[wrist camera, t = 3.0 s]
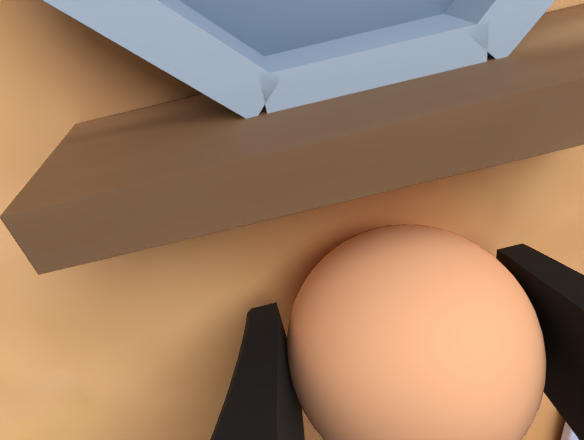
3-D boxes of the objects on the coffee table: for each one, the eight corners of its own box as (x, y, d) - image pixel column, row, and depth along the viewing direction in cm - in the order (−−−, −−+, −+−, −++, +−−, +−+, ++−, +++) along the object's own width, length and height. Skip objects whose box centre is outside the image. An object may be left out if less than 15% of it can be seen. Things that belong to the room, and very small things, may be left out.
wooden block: (607, 47, 9) (785, 96, 6) (97, 168, 9) (38, 274, 6) (617, -5, 9) (817, 22, 6) (75, 124, 9) (0, 216, 6)
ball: (465, 315, 13) (586, 501, 9) (296, 356, 13) (332, 563, 9) (470, 160, 10) (653, 319, 6) (254, 211, 10) (277, 410, 6)
